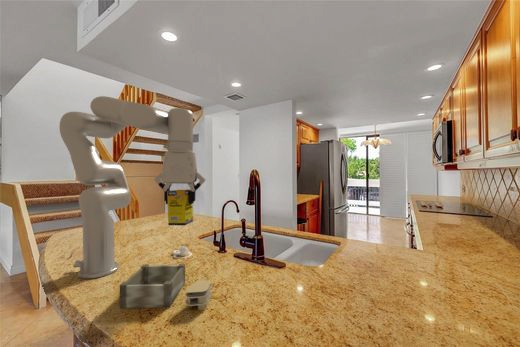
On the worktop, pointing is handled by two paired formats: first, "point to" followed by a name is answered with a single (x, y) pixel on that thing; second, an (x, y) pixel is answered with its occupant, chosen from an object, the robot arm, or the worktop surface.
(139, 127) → the robot arm
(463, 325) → the worktop surface
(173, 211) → the supplement box
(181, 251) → the teacup and saucer
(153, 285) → the crate
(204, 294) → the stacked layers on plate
